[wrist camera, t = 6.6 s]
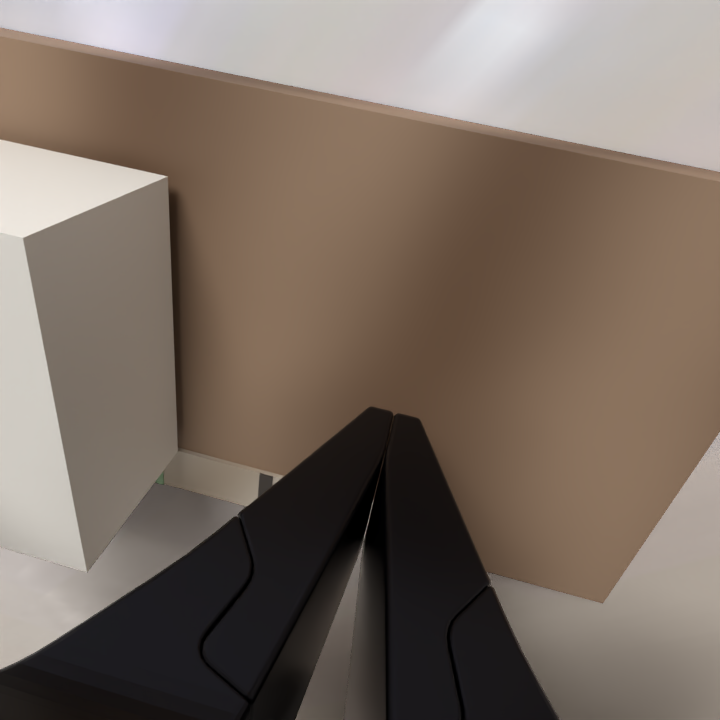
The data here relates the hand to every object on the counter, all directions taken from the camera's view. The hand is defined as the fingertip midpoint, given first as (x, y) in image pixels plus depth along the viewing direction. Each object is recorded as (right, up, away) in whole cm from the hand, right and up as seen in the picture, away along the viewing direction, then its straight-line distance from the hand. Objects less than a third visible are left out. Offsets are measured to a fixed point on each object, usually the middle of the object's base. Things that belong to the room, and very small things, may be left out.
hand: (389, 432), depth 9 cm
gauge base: (-5, +3, +3) cm, 6 cm away
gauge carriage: (-8, +2, +2) cm, 9 cm away
